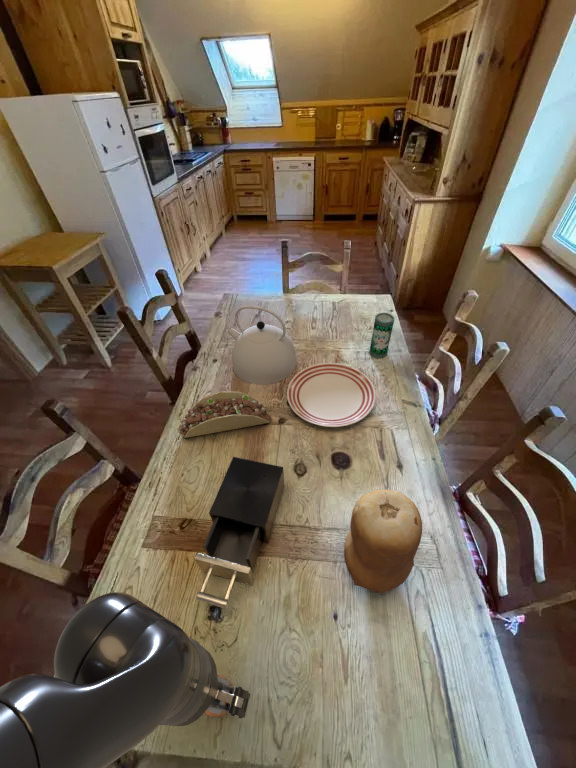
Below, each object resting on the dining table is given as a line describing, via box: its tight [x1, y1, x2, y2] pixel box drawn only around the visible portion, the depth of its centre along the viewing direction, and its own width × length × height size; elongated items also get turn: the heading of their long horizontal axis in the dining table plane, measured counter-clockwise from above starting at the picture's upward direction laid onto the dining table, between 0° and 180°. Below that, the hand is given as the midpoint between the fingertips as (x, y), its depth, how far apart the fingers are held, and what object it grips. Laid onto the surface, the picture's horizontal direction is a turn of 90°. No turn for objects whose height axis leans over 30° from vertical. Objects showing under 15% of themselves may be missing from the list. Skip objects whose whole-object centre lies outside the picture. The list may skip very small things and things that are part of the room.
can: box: [368, 312, 395, 359], centre depth 118 cm, size 6×6×15 cm
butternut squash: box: [343, 489, 423, 595], centre depth 64 cm, size 14×13×25 cm
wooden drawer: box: [193, 517, 263, 610], centre depth 71 cm, size 19×11×7 cm, turn 166°
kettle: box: [226, 305, 297, 386], centre depth 114 cm, size 25×23×22 cm
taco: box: [178, 391, 272, 439], centre depth 98 cm, size 10×27×10 cm, turn 102°
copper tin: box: [204, 674, 234, 718], centre depth 57 cm, size 5×5×5 cm
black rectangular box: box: [208, 456, 286, 545], centre depth 80 cm, size 15×13×9 cm
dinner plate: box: [286, 362, 377, 428], centre depth 107 cm, size 28×27×3 cm
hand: (206, 691), depth 50 cm, fingers open, 8 cm apart
